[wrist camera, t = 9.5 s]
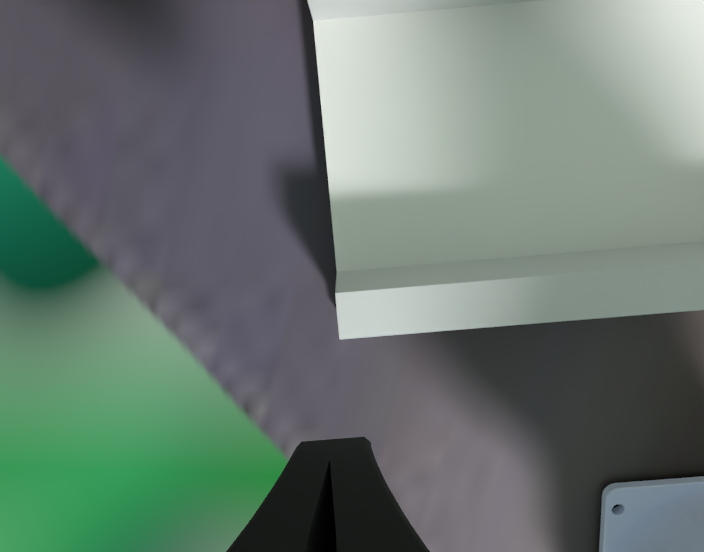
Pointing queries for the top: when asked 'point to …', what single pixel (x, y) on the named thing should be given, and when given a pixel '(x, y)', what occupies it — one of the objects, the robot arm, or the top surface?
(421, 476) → the top surface
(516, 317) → the chute
